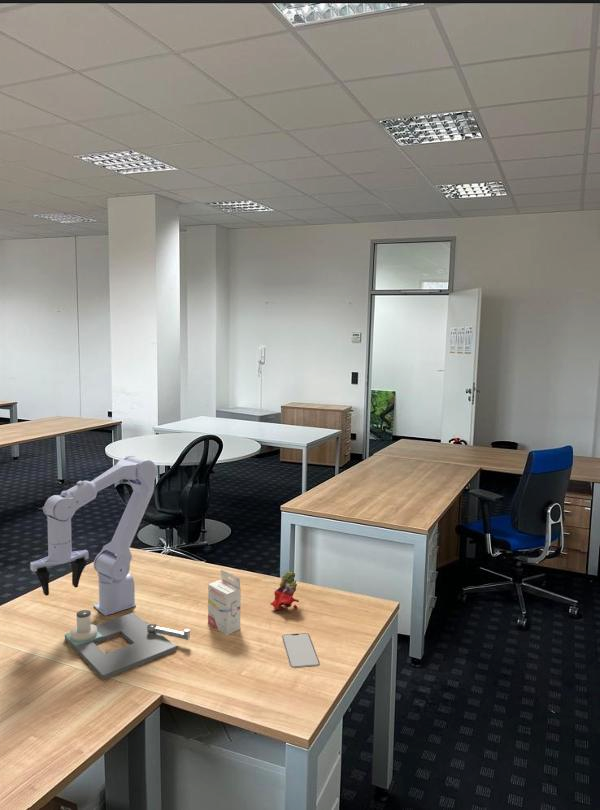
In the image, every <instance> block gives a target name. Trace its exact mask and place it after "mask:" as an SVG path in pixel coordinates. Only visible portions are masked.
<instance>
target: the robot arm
mask: <svg viewBox="0 0 600 810" xmlns="http://www.w3.org/2000/svg"><path fill="white" fill-rule="evenodd" d="M158 473H159V470H158V469H157V466H156V464H155V462H154V461H152V460H149V459H144V458H140V457H136V456H134V455H127V456H126V457H124V458H123V459H120V460H118V462H117V463H116V464H114V465H113V466H112V467H111V468H109V469H107V470H106V471H104V472H103V473H101V474H100V475H98V476H96V477H95V478H94V479H93V480H90V481H89V480H78V481H77V482H76V485H74V486H72V487H70V488H69V489H67V490H63V491H61V492H60V494H54V495H52V496H50V497H48V498H47V499H46V501H45V503H44V506H42V511H43V514H44V515H46V517H47V518H46V522H47V549H48V550H47V551H48V554H47V555H48V556H45V557H43V558H40V559H38V560H34V561H30V563H29V567H30V568H29V569H30V570H31V572H33V573H35V575H36V576H37V579H38V580H39V582H40V585H41V588H42V589H41V590H42V593H43V595H44V596H45V597H46V596H49V594H50V589H49V588H50V586H49V582H50V581H49V580H50V574H51V573H50V572H49V570H48V569H47V568H51V567H55V566H58V565H63V564H66V563H70V564H71V565H70V566H71V582H72V584H71V585H72V587H74V588H78V587H79V582H80V580H81V576H82V573H83V571H84V569H85V567H86V566H87V561H86V560H87V559H89V551H88V550H87V549H84V550H74V551H73V548H72V518H73V516H74V515H75V513H76V511H77V510H78V509H81V507H83V506H85V505H86V504H89V502H91V501H94V499H96V497H97V495H98V492H100V491H102V490H104V489H106V488H108V487H109V486H112V485H113V484H115V483H117V482H119V481H121V480H127V481H128V482H129V483H130V487H131V489H132V493H131V495H130V497H129V500H128V502H127V505H126V507H125V508H124V512H123V514H122V516H121V518H120V520H119V522H118V525H117V527H116V529H115V532H114V534H113V537H112V538H111V541H109V542H108V543H107V544H105V545H103V546H102V549H101V550H100V552H99V553H98V554H97V555H96V556H95V558H94V560H93V568H94V570H95V571H96V572H97V576H98V602H97V603H94V604H93V607H94V608H96V610H98V611H99V612H100V613H101V614H102V615H103V616H108V615H109V616H110V615H112V614H116V613H118V612H121V611H124V610H128V609H130V608H134V607H136V606H137V603H136V601H135V600H136V599H135V596H136V595H135V594H136V593H135V589H136V588H135V581H134V578H133V575H132V574H131V573H130V569H131V561H132V559H133V556H132V553H131V550H130V548H131V545H132V542H133V540H134V538H135V536H136V534H137V531H138V528H139V526H140V524H141V522H142V519H143V517H144V515H145V512H146V510H147V508H148V505H149V503H150V501H151V498H152V497H153V494H154V491H155V481H156V478H157V475H158Z"/></svg>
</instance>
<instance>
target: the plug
mask: <svg viewBox="0 0 600 810" xmlns="http://www.w3.org/2000/svg"><path fill="white" fill-rule="evenodd" d="M95 625H96V624H92V613H91V610H89V609H82V610H79V611H77V612H76V626H74V627H73V628H72V629H71V630H70V632H71V639H72V640H73V641H76V642H84V641H88V640H91V639H93V638H95V637H96V636H97V626H95Z"/></svg>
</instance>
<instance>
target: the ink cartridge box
mask: <svg viewBox="0 0 600 810" xmlns="http://www.w3.org/2000/svg"><path fill="white" fill-rule="evenodd" d="M220 576H221V579H219V580H216V581H213V582H210V583H208V587H207V588H208V589H207V592H208V593H207V594H208V596H207V597H208V598H207V625H209V626H211V627H213V628H214V629H216V630H218V631H219V632H221V634H224V635H226V636H229V635H231V634H233V633H234V632H236V631H239V630H240V629H241V598H242V595H241V593H242V589H241V579H240V577H238V576H237V575H234V574H233V573H230V572H228V571H226V570H224V569H220ZM228 577H229V578H228Z"/></svg>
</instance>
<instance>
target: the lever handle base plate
mask: <svg viewBox="0 0 600 810" xmlns="http://www.w3.org/2000/svg"><path fill="white" fill-rule="evenodd" d="M149 624H150V623H147V622H146V621H145V620H144V619H142V618H141V617H140V616H138V615H137V614H136V613H134V612H131V613H128V614H127V613H126V614H125V615H122V616H118V617H116V618H113V619H112V618H111V619H109V620H107V621H104V622H100V623H98V624H94V625H95V626H97V636H96V637H95V638H93V639H91V640H88V641H84V642H76V641H73V640H72V639H71V631H70V632H67V633H65V634H64V640H65V641H66V643H67V644H68V645H69V646H70V647H71V648H72V649H73V650H74V651H75V653H77V654H78V655H79V656H80V657H81V659H82V660H84V661H85V663H86V665H88V666H89V667H90V668H91V669H92V670H93V671H94V672H95V673H96V675H98V677H100V679H102V680H103V681H104V680H107V679H109V678H111V677H112V678H113V677H114V676H117V675H119V674H121V673H124V672H126V671H129V670H132V669H133V668H137V667H139V666H141V665H145V664H146V663H149V662H151V661H155V660H156V659H159V658H162V657H164V656H167V655H169V654H172V653H174V652H176V651H177V645H176V644H174V643H172V641H171V640H169V639H167V638H166V637H165V636H164V635H163V634H159V633H148V632H147V626H148V625H149ZM119 636H121V637H122V638H123V639H124V640H126V641H127V642H128V643H129V644H128V645H125V646H123V647H121V648H117V649H114V650H112V651H109V652H106V653H105V652H103V650H102V649H101V648H100V647H99V646H97V644H99V643H103V642H105V641H108V640H111V639H113V638H116V637H119Z"/></svg>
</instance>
